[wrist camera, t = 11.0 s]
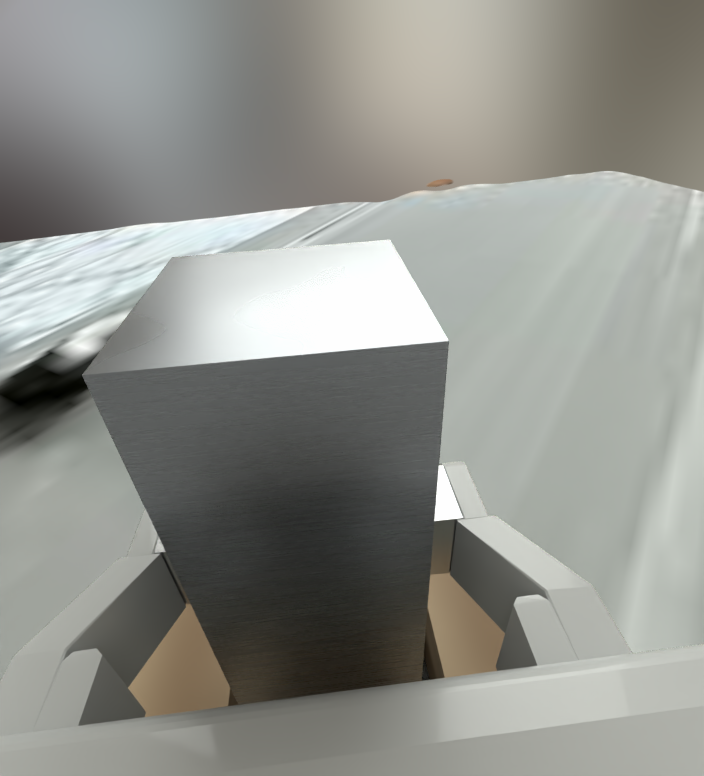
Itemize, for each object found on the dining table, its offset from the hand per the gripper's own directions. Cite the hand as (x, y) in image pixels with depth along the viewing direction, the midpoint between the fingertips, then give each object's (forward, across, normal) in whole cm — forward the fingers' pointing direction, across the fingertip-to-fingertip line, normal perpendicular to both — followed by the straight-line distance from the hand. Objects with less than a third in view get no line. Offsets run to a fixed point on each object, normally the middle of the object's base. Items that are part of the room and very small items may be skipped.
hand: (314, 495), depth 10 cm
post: (-1, 0, -8) cm, 8 cm away
